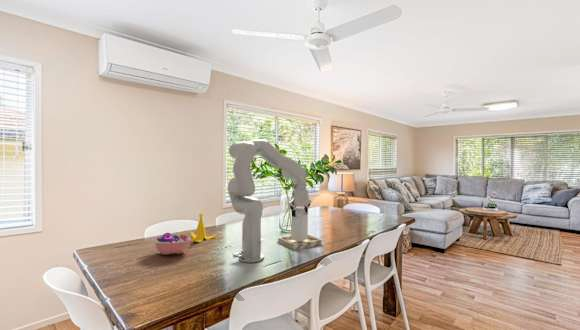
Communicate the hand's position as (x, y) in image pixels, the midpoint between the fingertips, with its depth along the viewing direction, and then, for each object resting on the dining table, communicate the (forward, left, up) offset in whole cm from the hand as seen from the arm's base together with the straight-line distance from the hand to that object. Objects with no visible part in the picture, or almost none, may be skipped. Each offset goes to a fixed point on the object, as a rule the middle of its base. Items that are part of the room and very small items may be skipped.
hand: (299, 215), depth 170 cm
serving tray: (0, 0, -17) cm, 17 cm away
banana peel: (-45, +41, -18) cm, 63 cm away
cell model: (-68, +23, -17) cm, 74 cm away
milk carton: (0, 0, -15) cm, 15 cm away
